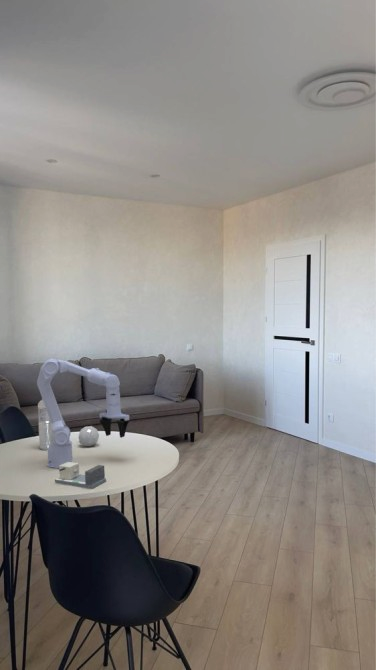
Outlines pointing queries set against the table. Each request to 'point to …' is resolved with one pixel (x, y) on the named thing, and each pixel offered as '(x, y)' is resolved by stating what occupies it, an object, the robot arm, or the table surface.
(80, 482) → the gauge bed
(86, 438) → the glossy grey ball
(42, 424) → the water bottle
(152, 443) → the table surface
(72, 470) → the off-white block with tab
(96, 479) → the grey rectangular block
